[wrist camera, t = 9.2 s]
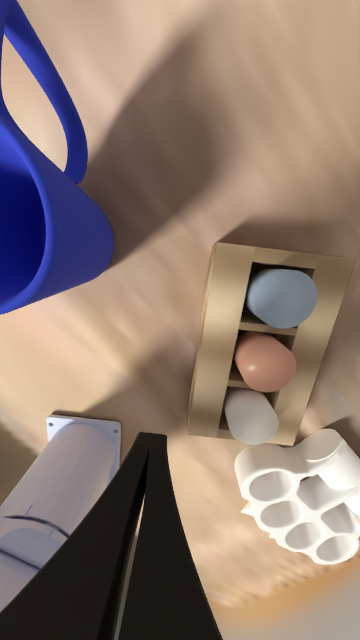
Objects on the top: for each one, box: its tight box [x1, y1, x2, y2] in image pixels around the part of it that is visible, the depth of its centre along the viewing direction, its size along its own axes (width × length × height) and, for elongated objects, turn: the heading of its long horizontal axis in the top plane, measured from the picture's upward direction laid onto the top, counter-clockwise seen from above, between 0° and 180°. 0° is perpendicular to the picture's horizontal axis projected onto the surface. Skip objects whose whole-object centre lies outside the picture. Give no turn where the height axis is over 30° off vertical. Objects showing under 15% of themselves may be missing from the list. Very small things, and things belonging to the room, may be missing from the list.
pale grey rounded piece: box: [223, 386, 279, 445], centre depth 18 cm, size 4×4×3 cm
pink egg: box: [233, 331, 296, 392], centre depth 17 cm, size 4×4×3 cm
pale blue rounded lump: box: [244, 269, 317, 329], centre depth 15 cm, size 4×4×3 cm
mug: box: [0, 0, 114, 314], centre depth 12 cm, size 8×12×10 cm
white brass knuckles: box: [235, 429, 360, 565], centre depth 23 cm, size 3×18×15 cm
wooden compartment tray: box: [187, 242, 356, 446], centre depth 18 cm, size 17×10×3 cm, turn 174°
